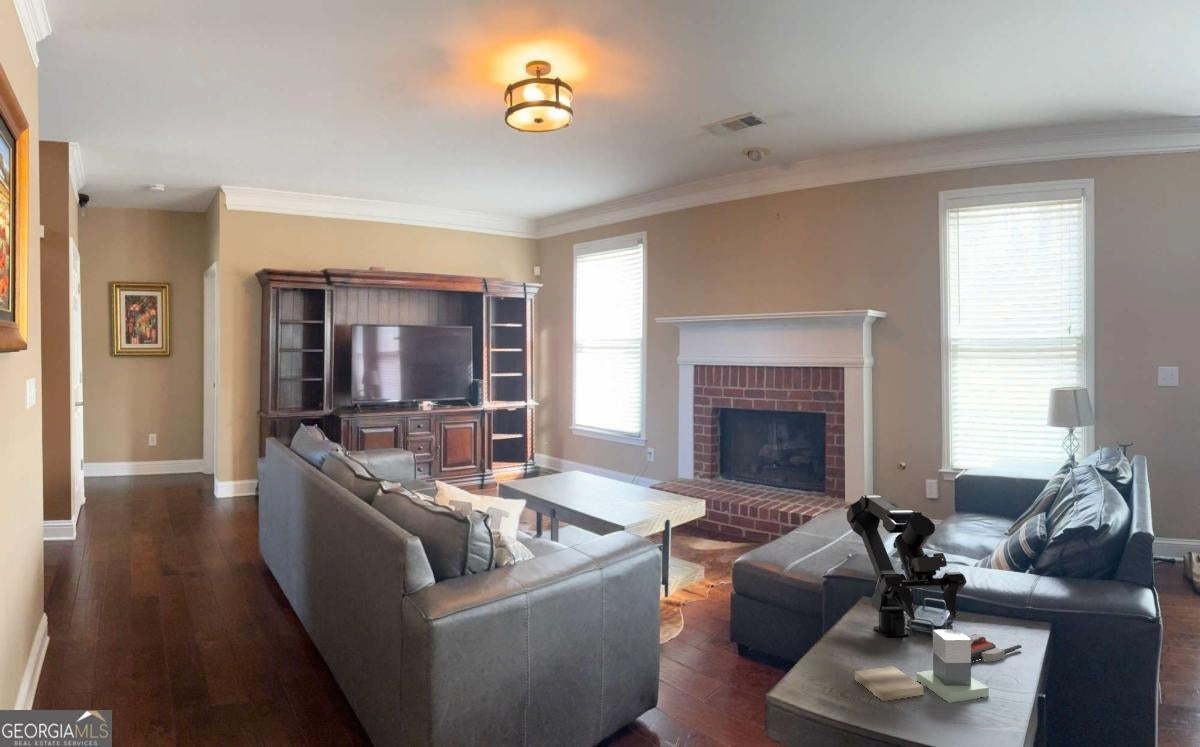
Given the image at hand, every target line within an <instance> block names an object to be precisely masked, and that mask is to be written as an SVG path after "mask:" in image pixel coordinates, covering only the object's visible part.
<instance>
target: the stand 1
mask: <svg viewBox="0 0 1200 747" xmlns="http://www.w3.org/2000/svg"><path fill="white" fill-rule="evenodd" d="M855 680H856V682H857V681H858V682H859V683H860V684H859V683H858V682H857V683H858V684H859V685H861V684H862V685H863V686H864V687H865V689H866V688H867V689H868V690H869V691H868V690H867V689H866V690H867V691H868V692H870V691H871V692H872V693H873V694H872V693H871V692H870V693H871V694H872V695H874V696H875V697H876V696H877V697H878V698H877V697H876V698H877V699H879V698H880V699H881V700H882V701H881V700H880V699H879V700H880V701H881V702H889V701H888V700H890V701H896V700H895V699H897V700H902V699H901V698H904V699H908V698H907V697H910V698H913V697H912V696H917V697H919V696H918V695H923V696H924V686H923V685H922V684H920V683H919V682H917V681H916V680H915V679H913V678H912V677H910V676H909V675H907V674H906V673H904V672H903V671H901V670H899V669H898V668H896V667H895V666H894V665H891V666H885V667H877V668H871V669H870V668H869V669H862V670H855V671H854V681H855ZM862 685H861V686H862ZM863 686H862V687H863ZM864 687H863V688H864Z"/></svg>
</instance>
